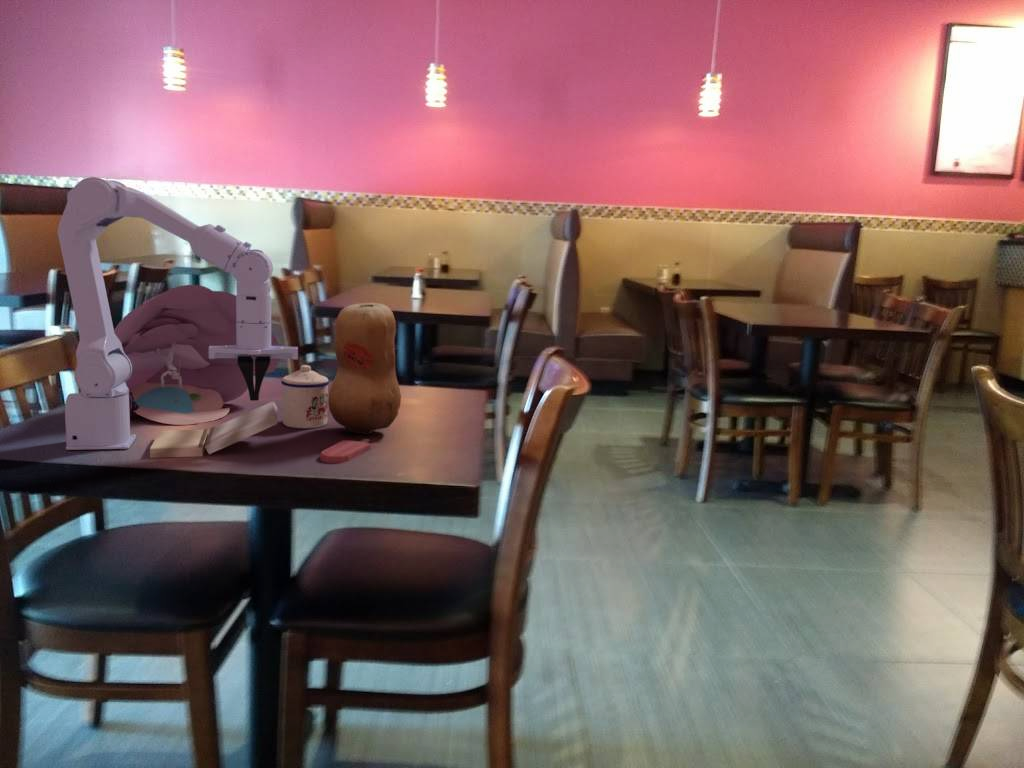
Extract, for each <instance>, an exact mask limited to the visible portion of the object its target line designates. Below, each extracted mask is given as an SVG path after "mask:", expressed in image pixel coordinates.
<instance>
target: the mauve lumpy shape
mask: <svg viewBox="0 0 1024 768" xmlns="http://www.w3.org/2000/svg"><path fill="white" fill-rule="evenodd" d="M114 333H115V335H116V336H117V337H118V339H119V340H120V342H121V344H122V348H123V351H124V353H125V355H126V356H127V357H128V358H129V360H130V361H131V364H132V373H131V376H130V378H129V379H128V380H127V381H126V386H127V387H128V389H129V413H130V417H131V416H135V415H139V416H141V417H143V418H145V419H148V420H150V421H154V422H157V423H161V424H167V425H174V426H175V425H176V426H189V425H197V424H204V423H208V422H213V421H217V420H218V419H221V418H224V417H225V416H227V414H229V412H230V407H225V408H222V407H223V406H224V403H228V402H231V401H234V400H237V399H238V398H240V397H241V396H243V395H244V394H245V393H246V392H247V391H248V387H247V384H246V381H245V379H244V376H243V374H242V372H241V370H240V368H239V366H238V364H237V362H238V358H215V359H209V346H230V345H236V294H233V293H230V292H227V291H222V290H221V291H220V290H212V289H210V288H209V287H206V286H203V285H199V284H185V285H180V286H176V287H173V288H170V289H168V290H166V291H164V292H162V293H160V294H157V295H155V296H154V297H152V298H149V299H148V300H146V301H144V302H142V304H141V305H139V306H138V307H135V308H133V309H132V310H131V311H130V312H128V313H127V314H126V315H125V316H124V317H122V319H121V320H120V321H119V322H118V324H117V325H116V327H115V328H114ZM271 346H280V345H279V343H278V339H277V338H276V336H275V334H274V332H273V331H272V330H271ZM242 355H249V354H242ZM259 355H265V354H259ZM280 360H281V359H278V358H270V365H269V367H268V369H267V371H266V373H265V375H266V374H269V373H272V372H274V371H275V370H277V368H278V366H279V363H280ZM253 374H255V358H253Z"/></svg>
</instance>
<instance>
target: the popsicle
mask: <svg viewBox="0 0 1024 768" xmlns="http://www.w3.org/2000/svg"><path fill="white" fill-rule="evenodd" d="M370 441H371V440H370V439H369V438H364V439H362V440H360V441H357V440H349V439H343V440H341V441H339V442H337V443H336V444H333V445H331V446H330V447H327V448H326V449H324V450H322V451H321V452H320V454H319V459H320V461H322V462H323V463H327V464H343V463H345V462H346V461H347V462H348V461H351V460H354V459H355V458H357V457H359V456H361V455H363V454H364V453H367V452H368V451H370V450H371V443H370Z"/></svg>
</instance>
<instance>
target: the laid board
mask: <svg viewBox="0 0 1024 768" xmlns="http://www.w3.org/2000/svg"><path fill="white" fill-rule="evenodd" d="M209 432H210V430H209V429H208V428H205V429H180V430H179V429H175V430H174V429H167V430H165V429H164V430H159V432H158V434H157V435H156V437H155V439H154V441H153V442H152V444H151V446H150V448H149V458H155V459H156V458H187V457H191V458H192V457H193V458H194V457H196V458H197V457H203V456H204V454H205V450H206V448H205V444H206V441H207V438H208V435H209Z"/></svg>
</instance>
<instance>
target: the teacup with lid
mask: <svg viewBox="0 0 1024 768" xmlns="http://www.w3.org/2000/svg"><path fill="white" fill-rule="evenodd" d="M299 368H300V369H299V370H296V371H294V372H292V373H291V374H289V375H285V376H284V377H282V378H281V385H282V424H283V425H284V426H286V427H289V428H294V429H316V428H320V427H324V426H326V425H327V423H328V410H329V384H330V381H329V379H328V377H327V376H324V375H321V374H319V373H318V372H316V371H314V370H312V367H311V366H310V365H309V364H308V365H307V364H304V365H301V366H299Z"/></svg>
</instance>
